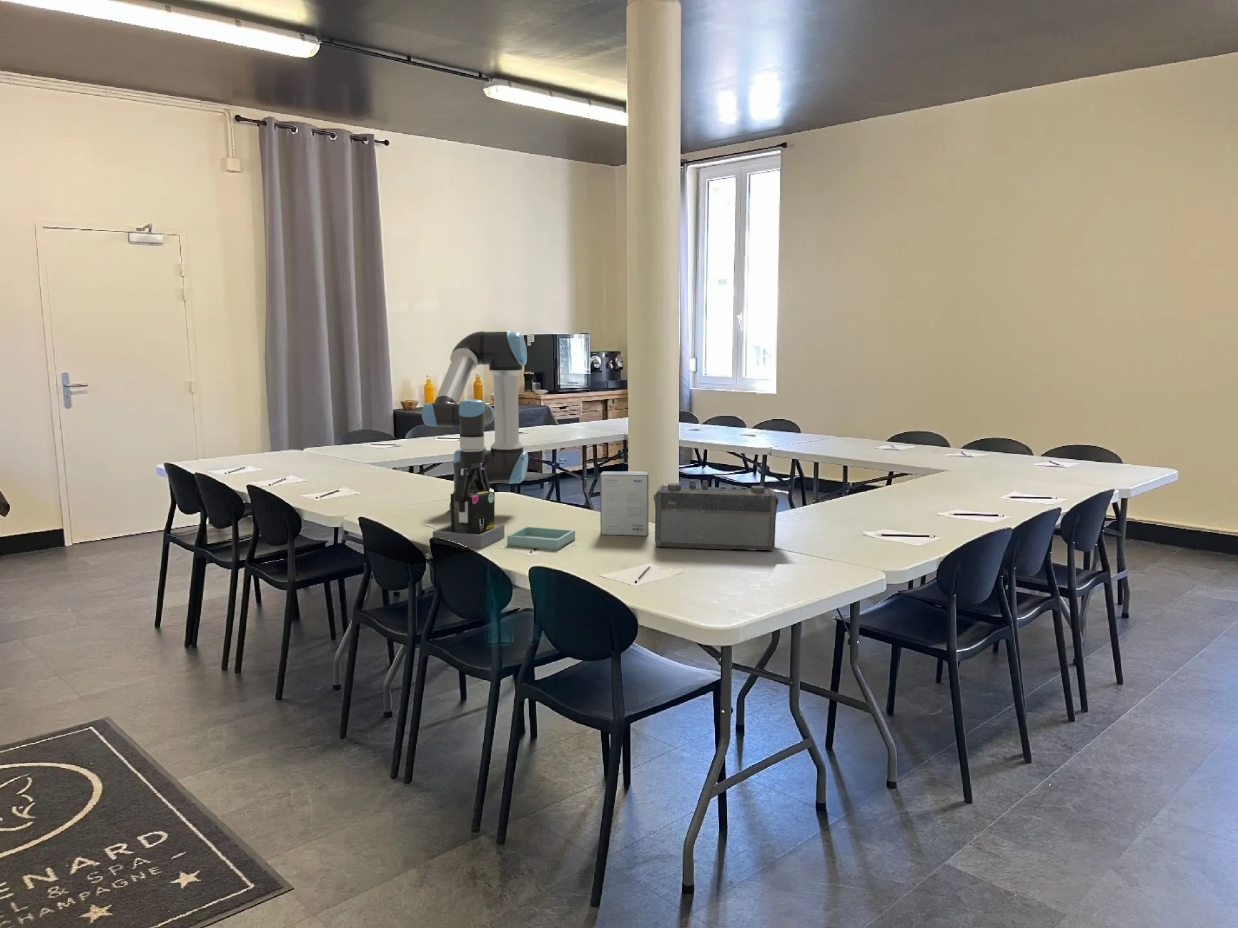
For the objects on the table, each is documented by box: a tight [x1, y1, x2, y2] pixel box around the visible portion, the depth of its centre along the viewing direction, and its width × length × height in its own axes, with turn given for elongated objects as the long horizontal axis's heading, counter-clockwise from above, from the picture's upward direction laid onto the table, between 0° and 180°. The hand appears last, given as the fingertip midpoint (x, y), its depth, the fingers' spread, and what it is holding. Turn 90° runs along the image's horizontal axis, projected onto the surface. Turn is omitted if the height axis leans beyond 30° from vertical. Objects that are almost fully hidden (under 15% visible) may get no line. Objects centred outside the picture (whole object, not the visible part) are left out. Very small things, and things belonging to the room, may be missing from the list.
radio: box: [653, 479, 779, 551], centre depth 274 cm, size 38×14×20 cm, turn 83°
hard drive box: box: [599, 470, 650, 537], centre depth 289 cm, size 16×8×20 cm, turn 84°
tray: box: [506, 526, 576, 551], centre depth 276 cm, size 15×17×3 cm
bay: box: [432, 523, 506, 550], centre depth 277 cm, size 16×16×4 cm
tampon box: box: [450, 489, 496, 535], centre depth 279 cm, size 11×9×15 cm
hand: (473, 518), depth 279 cm, fingers closed on tampon box, 12 cm apart
